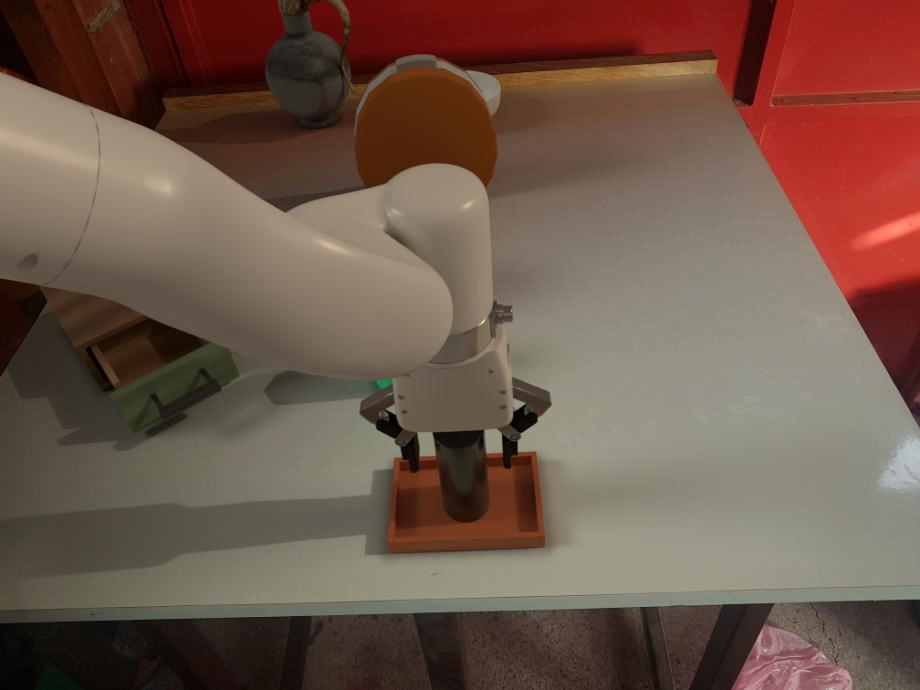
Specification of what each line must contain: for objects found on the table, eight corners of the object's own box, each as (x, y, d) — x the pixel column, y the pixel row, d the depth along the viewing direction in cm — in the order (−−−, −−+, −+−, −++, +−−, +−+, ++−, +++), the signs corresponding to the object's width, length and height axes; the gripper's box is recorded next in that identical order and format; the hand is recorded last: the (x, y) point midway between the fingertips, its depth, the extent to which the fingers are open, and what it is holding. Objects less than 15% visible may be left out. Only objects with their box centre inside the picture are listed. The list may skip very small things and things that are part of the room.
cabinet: (211, 336, 93) (191, 291, 88) (102, 391, 87) (74, 346, 82) (167, 283, 103) (147, 240, 97) (65, 329, 97) (38, 286, 91)
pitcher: (301, 104, 145) (263, -57, 125) (380, 115, 139) (354, -52, 118) (270, 127, 138) (225, -39, 118) (352, 140, 132) (320, -33, 111)
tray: (389, 552, 68) (387, 542, 67) (396, 468, 76) (394, 457, 74) (544, 546, 67) (545, 536, 66) (536, 461, 75) (536, 451, 74)
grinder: (442, 523, 70) (431, 450, 61) (443, 484, 73) (432, 409, 65) (490, 522, 69) (485, 447, 61) (489, 482, 73) (483, 406, 65)
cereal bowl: (491, 146, 126) (490, 108, 122) (404, 141, 130) (400, 105, 125) (508, 105, 138) (508, 69, 133) (428, 102, 142) (425, 67, 137)
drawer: (256, 395, 84) (242, 360, 80) (147, 456, 78) (126, 422, 74) (193, 319, 95) (178, 285, 91) (94, 367, 89) (73, 334, 85)
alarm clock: (490, 168, 121) (485, 34, 105) (499, 198, 114) (495, 59, 98) (364, 183, 120) (339, 51, 104) (365, 214, 113) (339, 77, 97)
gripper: (553, 285, 56) (548, 424, 68) (341, 297, 57) (373, 432, 69) (563, 349, 51) (556, 488, 63) (329, 361, 52) (366, 496, 64)
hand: (460, 458), depth 66 cm, fingers open, 8 cm apart
